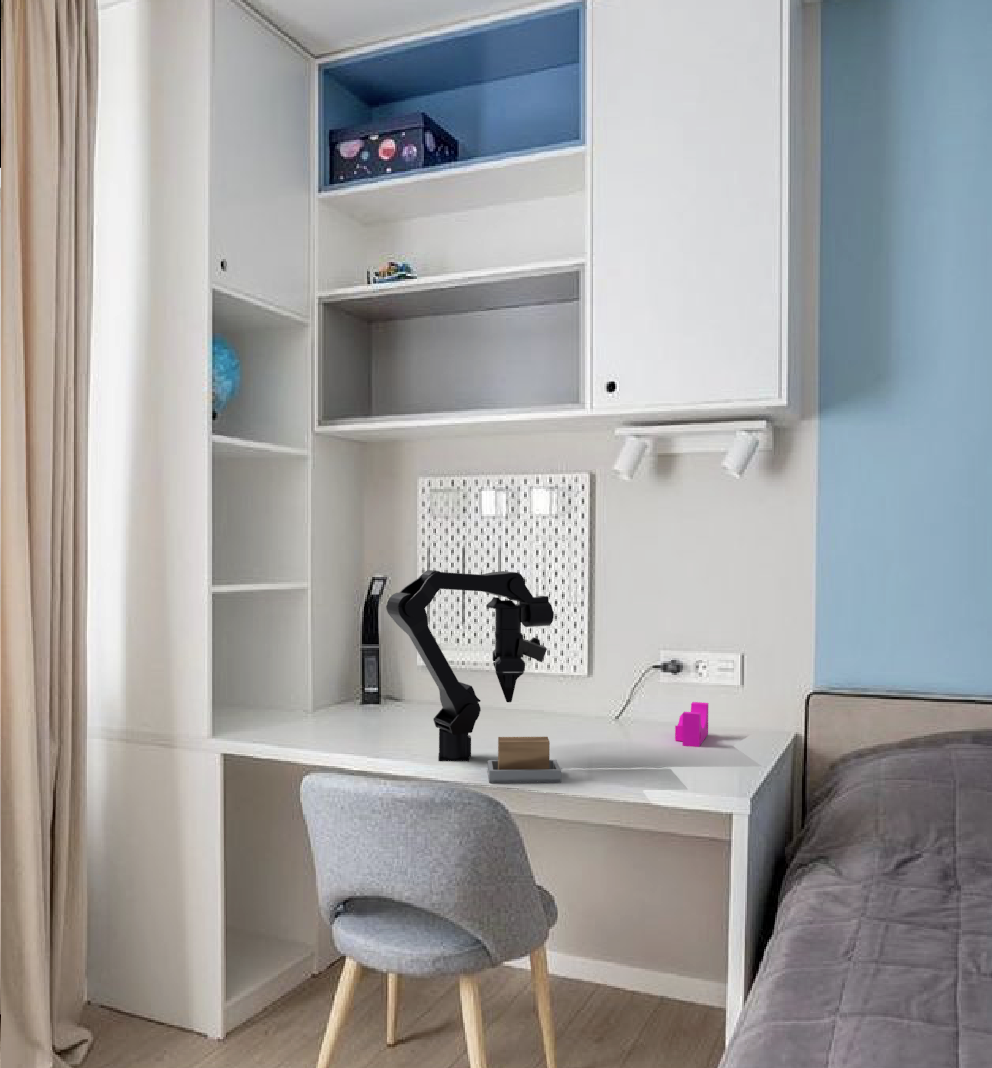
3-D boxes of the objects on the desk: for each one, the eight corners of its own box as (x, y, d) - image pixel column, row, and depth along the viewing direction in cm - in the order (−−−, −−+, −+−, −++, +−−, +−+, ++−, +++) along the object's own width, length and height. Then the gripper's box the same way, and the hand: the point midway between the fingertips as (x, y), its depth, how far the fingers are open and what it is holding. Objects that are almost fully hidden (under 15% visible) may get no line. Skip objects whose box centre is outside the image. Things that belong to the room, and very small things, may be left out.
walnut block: (549, 776, 195) (549, 741, 195) (499, 777, 194) (499, 741, 194) (547, 770, 199) (547, 736, 199) (498, 771, 199) (498, 736, 199)
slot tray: (489, 783, 192) (489, 770, 192) (487, 771, 201) (487, 760, 201) (560, 782, 193) (560, 770, 193) (556, 771, 201) (556, 759, 201)
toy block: (682, 731, 241) (682, 701, 241) (708, 733, 239) (708, 702, 238) (671, 744, 227) (671, 712, 227) (698, 747, 225) (699, 714, 224)
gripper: (548, 633, 208) (548, 706, 208) (540, 623, 227) (540, 690, 227) (496, 633, 208) (495, 706, 208) (492, 623, 226) (492, 691, 227)
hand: (507, 698), depth 217 cm, fingers open, 9 cm apart
